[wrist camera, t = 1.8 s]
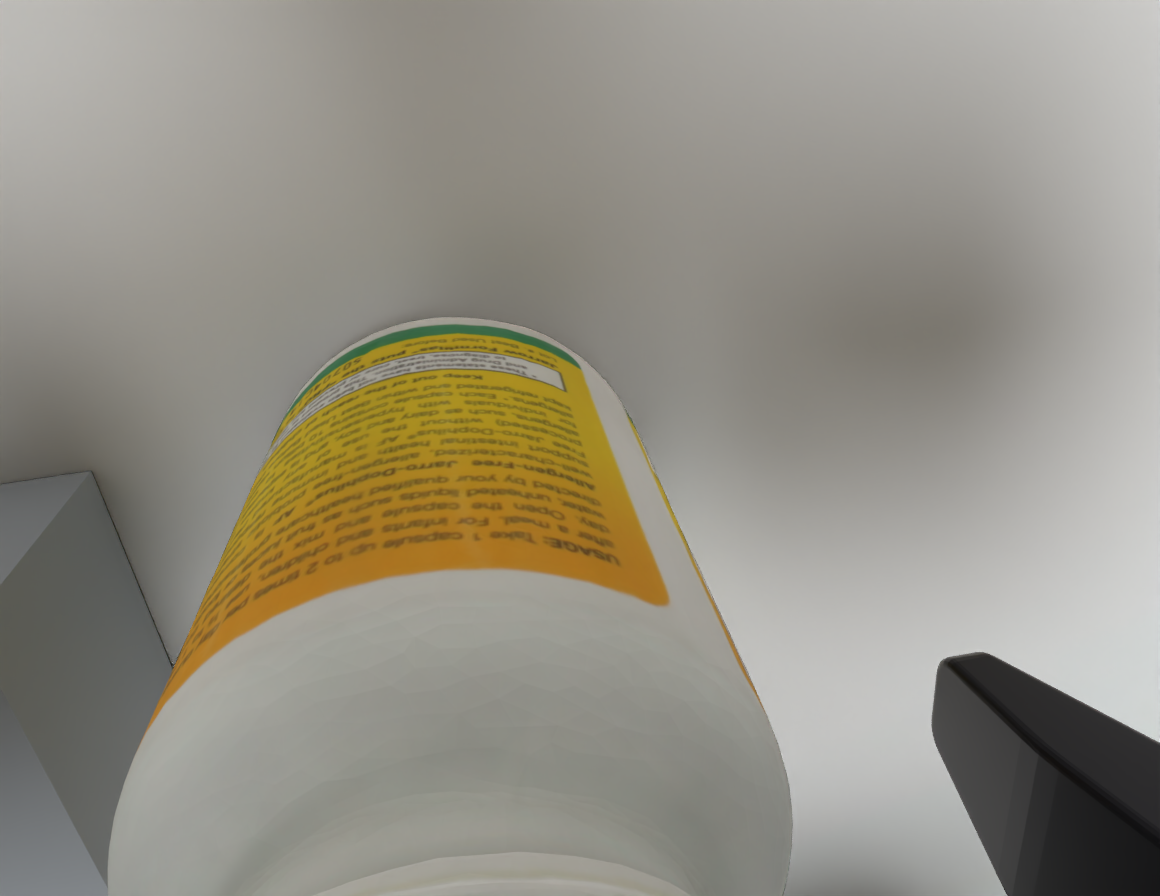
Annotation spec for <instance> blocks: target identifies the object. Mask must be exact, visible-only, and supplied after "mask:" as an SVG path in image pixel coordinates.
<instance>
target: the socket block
mask: <svg viewBox="0 0 1160 896" xmlns="http://www.w3.org/2000/svg"><path fill="white" fill-rule="evenodd" d="M172 670H173V669H172V666H171V664H170V662H169V659H168V657H167V654H166V652H165V649H164V647H163V644H162V642H161V640H160V637H159V635H158V632H157V630H156V627H155V625H154V622H153V620H152V618H151V615H150V613H149V610H148V608H147V605H146V603H145V600H144V598H143V596H142V593H141V591H140V588H139V586H138V583H137V581H136V579H135V576H134V574H133V571H132V569H131V566H130V564H129V561H128V559H127V557H126V554H125V552H124V549H123V547H122V544H121V542H120V539H119V537H118V535H117V532H116V530H115V527H114V525H113V522H112V520H111V518H110V515H109V513H108V510H107V508H106V505H105V503H104V500H103V498H102V496H101V493H100V491H99V488H98V486H97V483H96V481H95V478H94V476H93V474H92V471H86V472H80V473H73V474H67V475H60V476H53V477H47V478H40V479H33V480H27V481H20V482H13V483H7V484H0V896H108V855H109V845H110V839H111V833H112V827H113V821H114V816H115V812H116V809H117V805H118V802H119V799H120V796H121V792H122V789H123V786H124V782H125V780H126V777H127V774H128V772H129V769H130V766H131V764H132V761H133V759H134V756H135V754H136V752H137V749H138V747H139V745H140V743H141V740H142V738H143V736H144V734H145V731H146V729H147V727H148V725H149V723H150V720H151V718H152V716H153V713H154V711H155V708H156V706H157V704H158V701H159V699H160V697H161V695H162V693H163V691H164V689H165V687H166V684H167V682H168V680H169V677H170V675H171V673H172Z"/></svg>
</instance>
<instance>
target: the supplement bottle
mask: <svg viewBox="0 0 1160 896" xmlns="http://www.w3.org/2000/svg"><path fill="white" fill-rule="evenodd" d="M791 848H792V806H791V798H790V789H789V783H788V778H787V774H786V770H785V767H784V763H783V760H782V756H781V753H780V749H779V746H778V743H777V740H776V738H775V735H774V732H773V730H772V727H771V725H770V722H769V720H768V717H767V715H766V713H765V710H764V708H763V706H762V704H761V701H760V699H759V697H758V695H757V693H756V690H755V688H754V686H753V683H752V681H751V679H750V676H749V674H748V672H747V669H746V667H745V665H744V663H743V661H742V659H741V657H740V655H739V653H738V651H737V649H736V647H735V644H734V642H733V640H732V638H731V635H730V633H729V631H728V628H727V626H726V624H725V622H724V620H723V618H722V616H721V614H720V612H719V609H718V607H717V605H716V603H715V601H714V599H713V597H712V594H711V592H710V590H709V588H708V586H707V584H706V582H705V579H704V577H703V575H702V573H701V571H700V569H699V567H698V564H697V562H696V560H695V558H694V556H693V554H692V552H691V550H690V548H689V546H688V544H687V542H686V540H685V537H684V535H683V533H682V531H681V529H680V527H679V524H678V522H677V520H676V518H675V515H674V513H673V511H672V509H671V506H670V504H669V502H668V499H667V497H666V495H665V492H664V490H663V488H662V486H661V483H660V481H659V479H658V477H657V474H656V472H655V470H654V468H653V466H652V463H651V461H650V459H649V457H648V454H647V452H646V450H645V447H644V445H643V443H642V441H641V439H640V436H639V434H638V432H637V430H636V428H635V426H634V424H633V422H632V420H631V418H630V417H629V415H628V413H627V412H626V410H625V408H624V406H623V404H622V403H621V401H620V400H619V398H618V396H617V395H616V393H615V392H614V391H613V389H612V388H611V387H610V386H609V385H608V383H607V382H606V381H605V380H604V379H603V378H602V376H601V375H600V374H599V373H598V372H597V371H596V370H595V369H593V368H592V367H591V366H590V365H589V364H588V363H587V362H586V361H585V360H584V359H583V358H581V357H580V356H579V355H577V354H576V353H574V352H573V351H571V350H570V349H568V348H567V347H565V346H564V345H562V344H560V343H559V342H557V341H556V340H554V339H552V338H550V337H548V336H546V335H544V334H542V333H539V332H537V331H535V330H532V329H530V328H526V327H522V326H518V325H514V324H510V323H504V322H498V321H495V320H486V319H478V318H466V317H439V318H430V319H422V320H416V321H411V322H406V323H402V324H399V325H395V326H392V327H389V328H386V329H384V330H381V331H379V332H376V333H373V334H371V335H369V336H367V337H365V338H363V339H362V340H360V341H358V342H356V343H354V344H352V345H350V346H349V347H347V348H346V349H345V350H343V351H342V352H340V353H339V354H337V355H336V356H335V357H333V358H332V359H330V360H329V361H328V362H327V363H326V364H325V365H324V366H323V367H322V368H321V369H320V370H318V371H317V372H316V373H315V374H314V375H313V376H312V378H311V379H310V380H309V381H308V382H307V383H306V384H305V385H304V387H303V388H302V389H301V391H300V392H299V393H298V395H297V396H296V397H295V399H294V401H293V402H292V404H291V405H290V407H289V409H288V411H287V413H286V415H285V417H284V419H283V421H282V423H281V425H280V427H279V429H278V431H277V433H276V435H275V437H274V439H273V441H272V444H271V447H270V449H269V451H268V454H267V455H266V457H265V459H264V461H263V463H262V465H261V467H260V469H259V472H258V474H257V477H256V479H255V482H254V484H253V486H252V489H251V491H250V493H249V495H248V498H247V500H246V502H245V505H244V507H243V509H242V512H241V514H240V516H239V519H238V521H237V523H236V525H235V527H234V530H233V532H232V535H231V537H230V539H229V541H228V544H227V546H226V548H225V551H224V553H223V555H222V557H221V560H220V562H219V565H218V567H217V569H216V572H215V574H214V576H213V578H212V580H211V582H210V584H209V586H208V589H207V591H206V594H205V596H204V598H203V601H202V603H201V606H200V608H199V611H198V613H197V615H196V618H195V620H194V622H193V625H192V627H191V629H190V631H189V634H188V636H187V638H186V641H185V643H184V645H183V647H182V650H181V652H180V654H179V657H178V659H177V661H176V663H175V666H174V668H173V670H172V673H171V675H170V677H169V680H168V682H167V684H166V687H165V689H164V691H163V693H162V695H161V697H160V699H159V701H158V704H157V706H156V708H155V711H154V713H153V716H152V718H151V720H150V723H149V725H148V727H147V729H146V731H145V734H144V736H143V738H142V740H141V743H140V745H139V747H138V749H137V752H136V754H135V756H134V759H133V761H132V764H131V766H130V769H129V772H128V774H127V777H126V780H125V782H124V786H123V789H122V792H121V796H120V799H119V802H118V805H117V809H116V812H115V816H114V821H113V827H112V833H111V839H110V845H109V855H108V896H783V893H784V889H785V885H786V880H787V875H788V870H789V863H790V855H791Z"/></svg>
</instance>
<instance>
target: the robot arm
mask: <svg viewBox="0 0 1160 896" xmlns="http://www.w3.org/2000/svg"><path fill="white" fill-rule="evenodd" d="M932 732H933V737H934V740H935V744H936V746H937V749H938V751H939V753H940V755H941V757H942V760H943V762H944V764H945V766H946V768H947V770H948V772H949V774H950V776H951V779H952V781H953V783H954V785H955V787H956V789H957V791H958V793H959V795H960V798H961V800H962V802H963V804H964V806H965V808H966V810H967V812H968V814H969V817H970V819H971V821H972V823H973V825H974V827H975V829H976V831H977V833H978V836H979V838H980V840H981V842H982V844H983V846H984V848H985V850H986V852H987V855H988V857H989V859H990V861H991V863H992V865H993V867H994V869H995V871H996V874H997V876H998V878H999V880H1000V882H1001V884H1002V886H1003V888H1004V890H1005V892H1006V894H1007V896H1160V743H1159V742H1157V741H1155V740H1153V739H1151V738H1150V737H1148V736H1146V735H1144V734H1142V733H1140V732H1138V731H1136V730H1134V729H1132V728H1130V727H1128V726H1127V725H1125V724H1123V723H1121V722H1119V721H1117V720H1115V719H1113V718H1111V717H1109V716H1107V715H1106V714H1104V713H1102V712H1100V711H1098V710H1096V709H1094V708H1092V707H1090V706H1088V705H1086V704H1084V703H1083V702H1081V701H1079V700H1077V699H1075V698H1073V697H1071V696H1069V695H1067V694H1065V693H1063V692H1062V691H1060V690H1058V689H1056V688H1054V687H1052V686H1050V685H1048V684H1046V683H1044V682H1042V681H1040V680H1039V679H1037V678H1035V677H1033V676H1031V675H1029V674H1027V673H1025V672H1023V671H1021V670H1019V669H1018V668H1016V667H1014V666H1012V665H1010V664H1008V663H1006V662H1004V661H1002V660H1000V659H998V658H996V657H995V656H992V655H990V654H988V653H984V652H975V653H969V654H964V655H958V656H953V657H948V658H945V659H943V660H942V661H941V662H940V664H939V666H938V669H937V675H936V685H935V694H934V703H933V712H932Z"/></svg>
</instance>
